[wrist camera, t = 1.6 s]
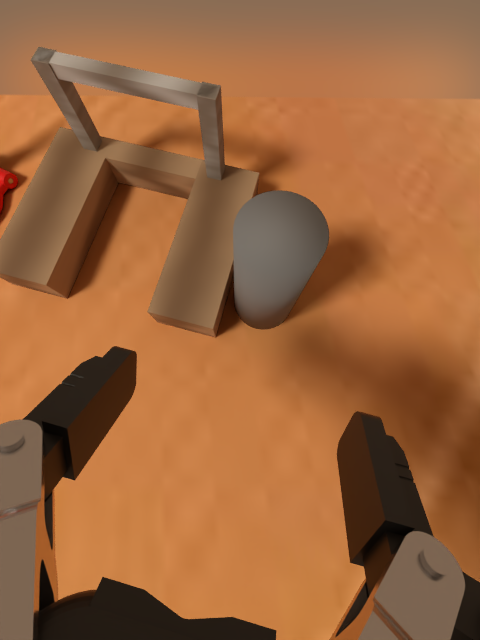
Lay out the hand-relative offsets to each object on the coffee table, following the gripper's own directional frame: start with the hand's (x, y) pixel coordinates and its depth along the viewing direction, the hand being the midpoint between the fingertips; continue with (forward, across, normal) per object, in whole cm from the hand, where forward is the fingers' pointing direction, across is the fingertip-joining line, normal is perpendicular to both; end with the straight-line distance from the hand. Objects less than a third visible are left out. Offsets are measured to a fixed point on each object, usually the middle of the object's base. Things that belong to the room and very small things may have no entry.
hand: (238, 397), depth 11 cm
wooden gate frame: (+17, +12, +1) cm, 21 cm away
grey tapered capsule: (+15, 0, +3) cm, 16 cm away
